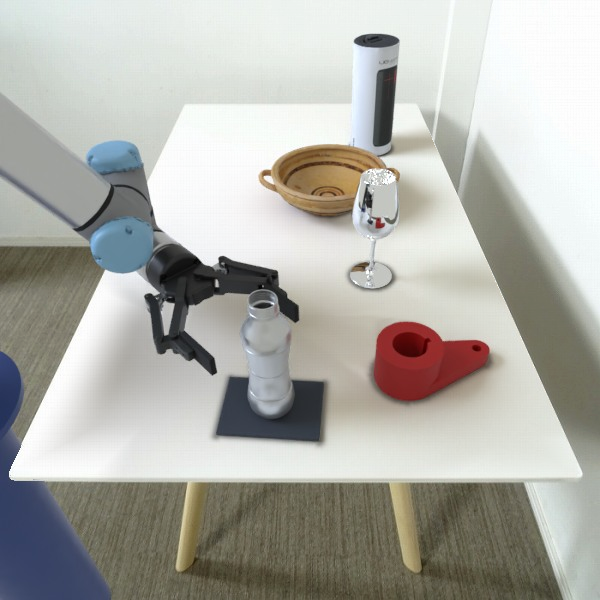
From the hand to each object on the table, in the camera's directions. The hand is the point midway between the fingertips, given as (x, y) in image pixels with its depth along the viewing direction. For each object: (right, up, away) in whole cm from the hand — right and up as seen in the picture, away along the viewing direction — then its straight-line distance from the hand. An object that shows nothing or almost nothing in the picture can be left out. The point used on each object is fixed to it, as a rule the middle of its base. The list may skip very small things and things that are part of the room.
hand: (257, 339), depth 70 cm
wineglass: (+18, +9, +30) cm, 36 cm away
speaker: (+23, +43, +69) cm, 85 cm away
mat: (+1, -10, +8) cm, 13 cm away
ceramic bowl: (+12, +26, +50) cm, 57 cm away
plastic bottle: (+1, -10, +8) cm, 13 cm away
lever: (+25, -6, +13) cm, 29 cm away
